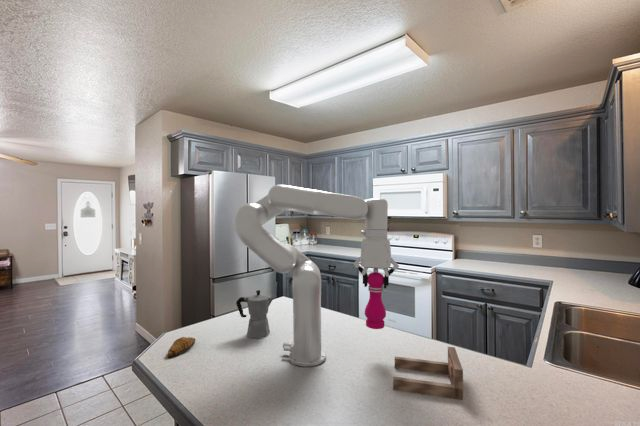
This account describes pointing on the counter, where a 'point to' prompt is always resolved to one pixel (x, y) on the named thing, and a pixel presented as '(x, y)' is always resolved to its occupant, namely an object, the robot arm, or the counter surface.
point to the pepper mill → (375, 301)
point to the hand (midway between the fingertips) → (375, 286)
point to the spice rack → (427, 387)
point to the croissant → (180, 346)
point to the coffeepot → (256, 314)
